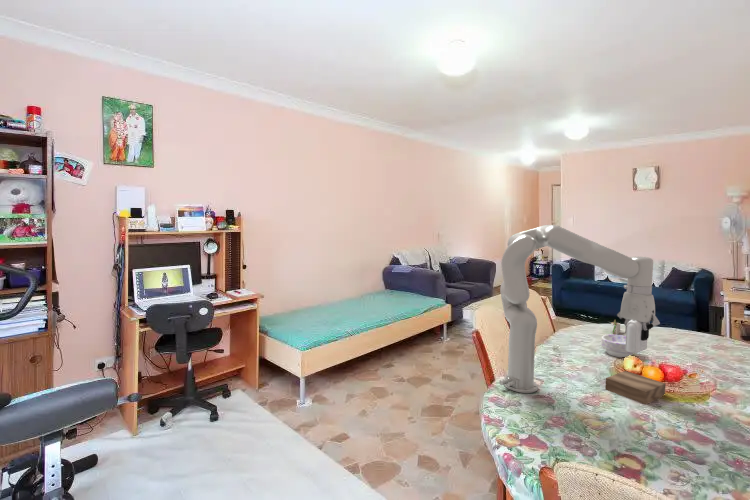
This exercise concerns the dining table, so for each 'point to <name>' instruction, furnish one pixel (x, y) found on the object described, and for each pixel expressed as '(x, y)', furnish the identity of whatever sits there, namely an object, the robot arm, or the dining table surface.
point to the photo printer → (634, 337)
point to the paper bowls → (615, 345)
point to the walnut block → (635, 387)
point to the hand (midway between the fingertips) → (636, 337)
